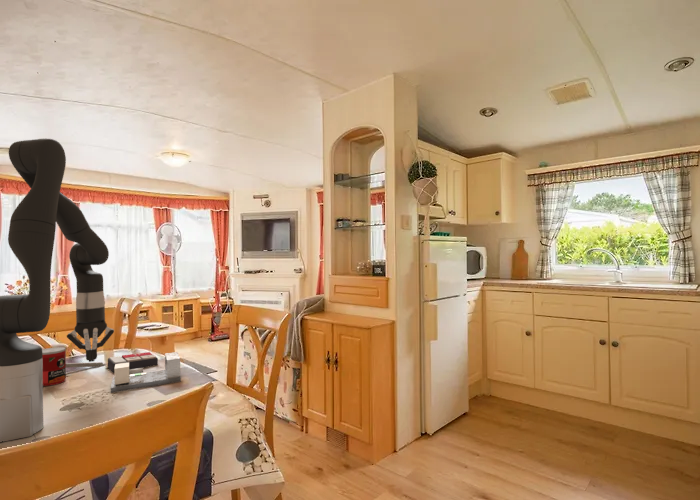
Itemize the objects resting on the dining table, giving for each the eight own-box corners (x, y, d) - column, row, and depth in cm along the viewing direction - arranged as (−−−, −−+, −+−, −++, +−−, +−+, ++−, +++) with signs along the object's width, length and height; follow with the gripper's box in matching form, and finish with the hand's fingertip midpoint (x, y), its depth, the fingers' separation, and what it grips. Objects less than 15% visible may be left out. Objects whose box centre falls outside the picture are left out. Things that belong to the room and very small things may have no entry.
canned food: (51, 386, 128) (50, 353, 128) (31, 385, 130) (30, 352, 130) (72, 379, 136) (71, 347, 136) (52, 378, 137) (52, 346, 137)
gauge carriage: (143, 380, 127) (143, 364, 127) (114, 384, 124) (114, 368, 124) (142, 372, 136) (142, 357, 136) (115, 376, 132) (115, 361, 132)
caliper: (40, 378, 138) (40, 360, 138) (39, 378, 139) (39, 360, 139) (106, 365, 153) (106, 349, 153) (105, 365, 154) (105, 348, 154)
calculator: (158, 356, 152) (113, 361, 142) (157, 367, 152) (113, 373, 142) (150, 351, 160) (107, 356, 150) (149, 361, 160) (107, 367, 150)
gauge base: (180, 381, 131) (180, 359, 131) (110, 392, 121) (110, 368, 121) (177, 372, 142) (177, 351, 142) (112, 382, 132) (112, 359, 132)
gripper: (62, 309, 117) (64, 367, 117) (114, 305, 123) (115, 360, 124) (66, 306, 123) (67, 361, 124) (115, 302, 130) (116, 355, 130)
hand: (91, 360), depth 124 cm, fingers closed
